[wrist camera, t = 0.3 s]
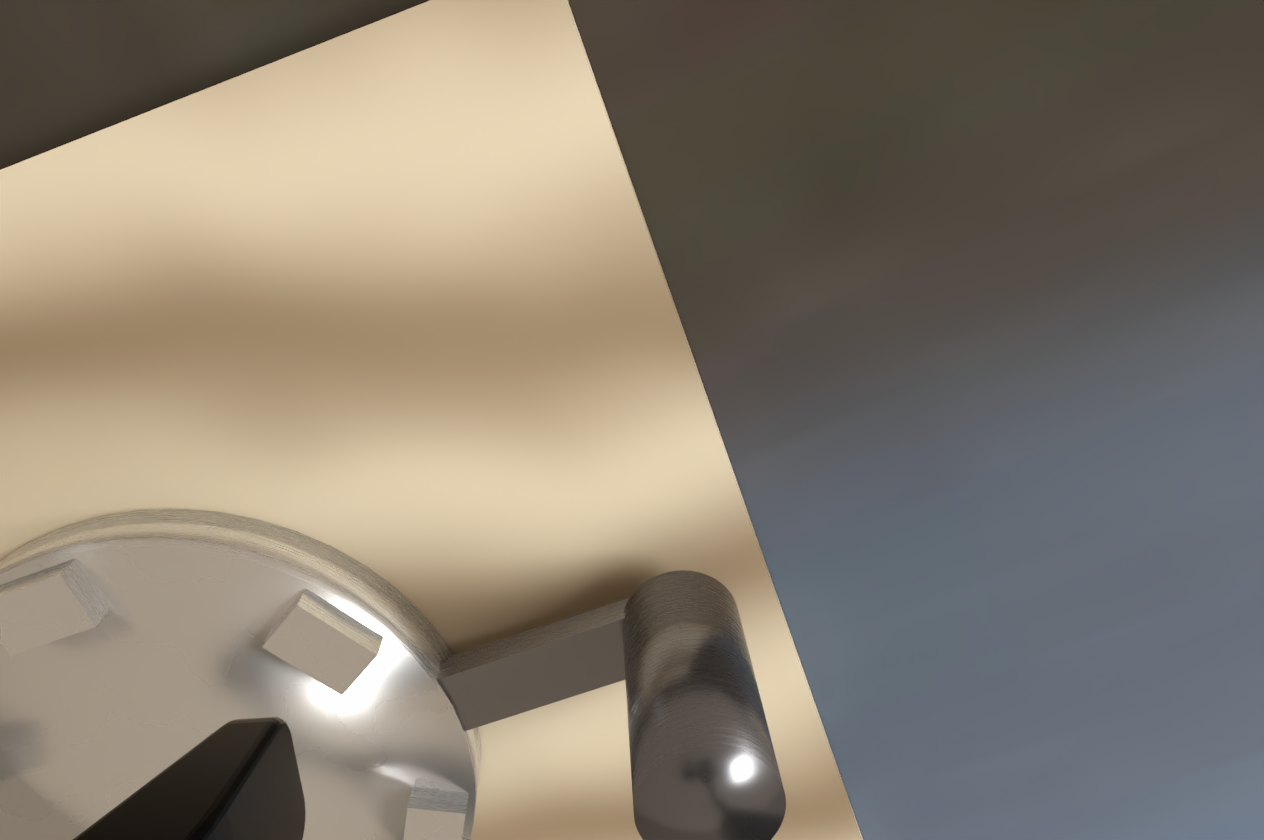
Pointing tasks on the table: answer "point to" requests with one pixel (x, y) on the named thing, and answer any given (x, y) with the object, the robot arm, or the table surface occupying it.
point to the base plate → (398, 366)
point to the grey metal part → (345, 683)
